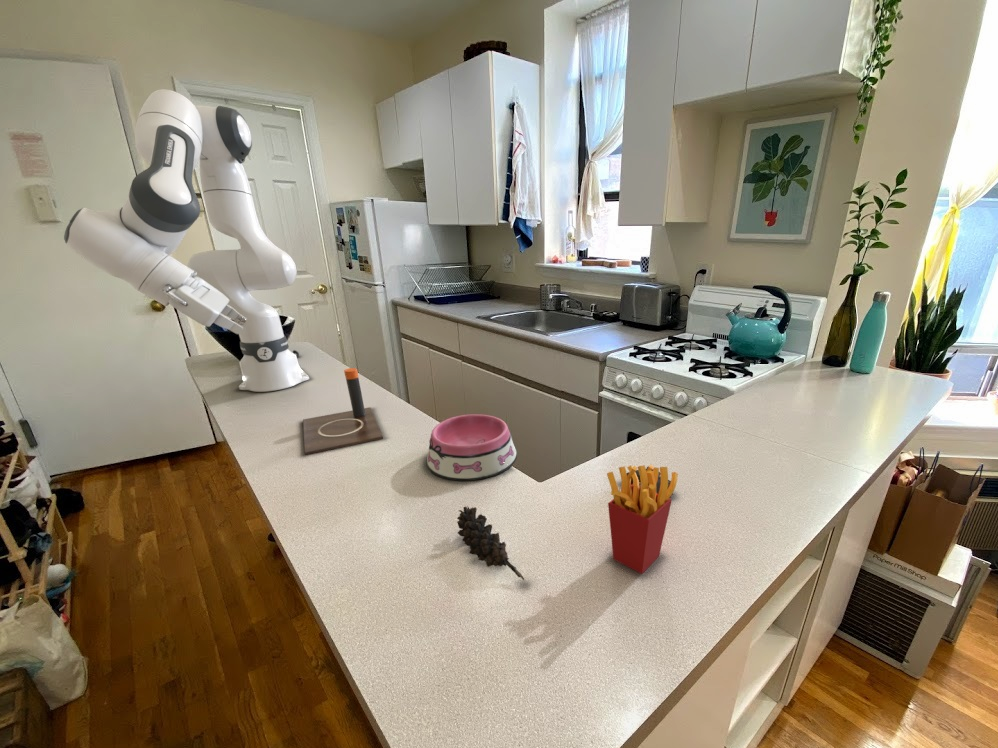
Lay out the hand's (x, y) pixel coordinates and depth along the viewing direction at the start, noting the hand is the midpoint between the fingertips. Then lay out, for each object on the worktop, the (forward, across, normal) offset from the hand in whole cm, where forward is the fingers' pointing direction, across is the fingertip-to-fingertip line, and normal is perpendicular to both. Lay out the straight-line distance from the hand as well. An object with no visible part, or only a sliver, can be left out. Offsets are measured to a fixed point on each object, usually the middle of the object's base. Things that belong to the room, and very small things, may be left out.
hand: (243, 326), depth 99 cm
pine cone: (+40, -65, -3) cm, 76 cm away
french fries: (+53, -75, -17) cm, 93 cm away
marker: (+31, 0, +4) cm, 31 cm away
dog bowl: (+44, -35, -8) cm, 57 cm away
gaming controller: (+62, -63, -25) cm, 92 cm away
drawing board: (+28, -6, +8) cm, 30 cm away
